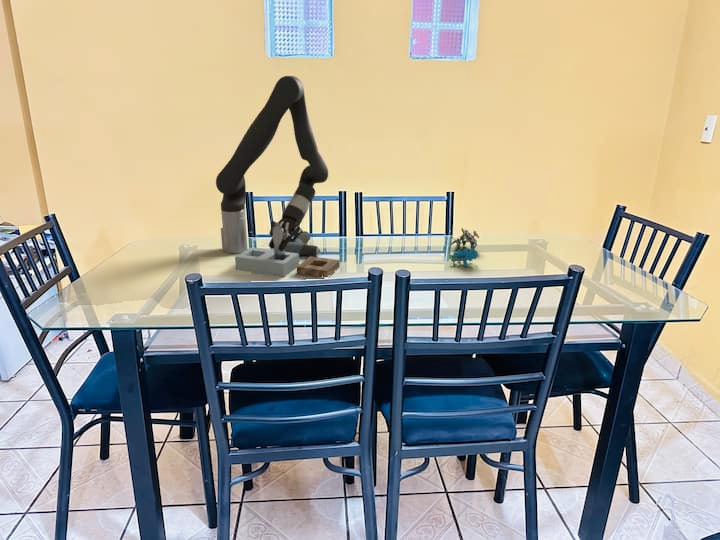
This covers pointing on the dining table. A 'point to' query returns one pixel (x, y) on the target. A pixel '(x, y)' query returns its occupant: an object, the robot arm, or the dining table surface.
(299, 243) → the power drill
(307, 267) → the socket block
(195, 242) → the dining table surface
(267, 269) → the block
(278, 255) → the steel bit
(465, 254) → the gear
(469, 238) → the passion flower
